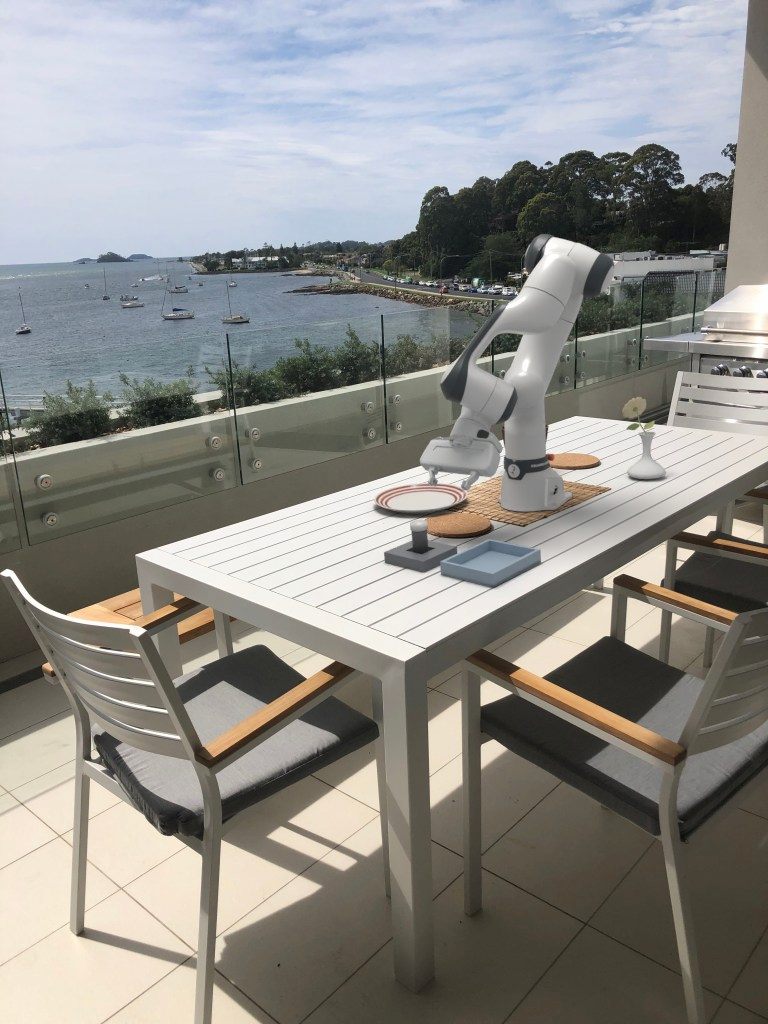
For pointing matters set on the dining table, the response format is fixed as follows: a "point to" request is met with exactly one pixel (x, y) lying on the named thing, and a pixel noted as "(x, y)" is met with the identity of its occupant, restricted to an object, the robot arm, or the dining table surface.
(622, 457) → the dining table surface
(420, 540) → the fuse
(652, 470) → the flower in vase
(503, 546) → the parts tray
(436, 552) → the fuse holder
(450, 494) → the dinner plate
